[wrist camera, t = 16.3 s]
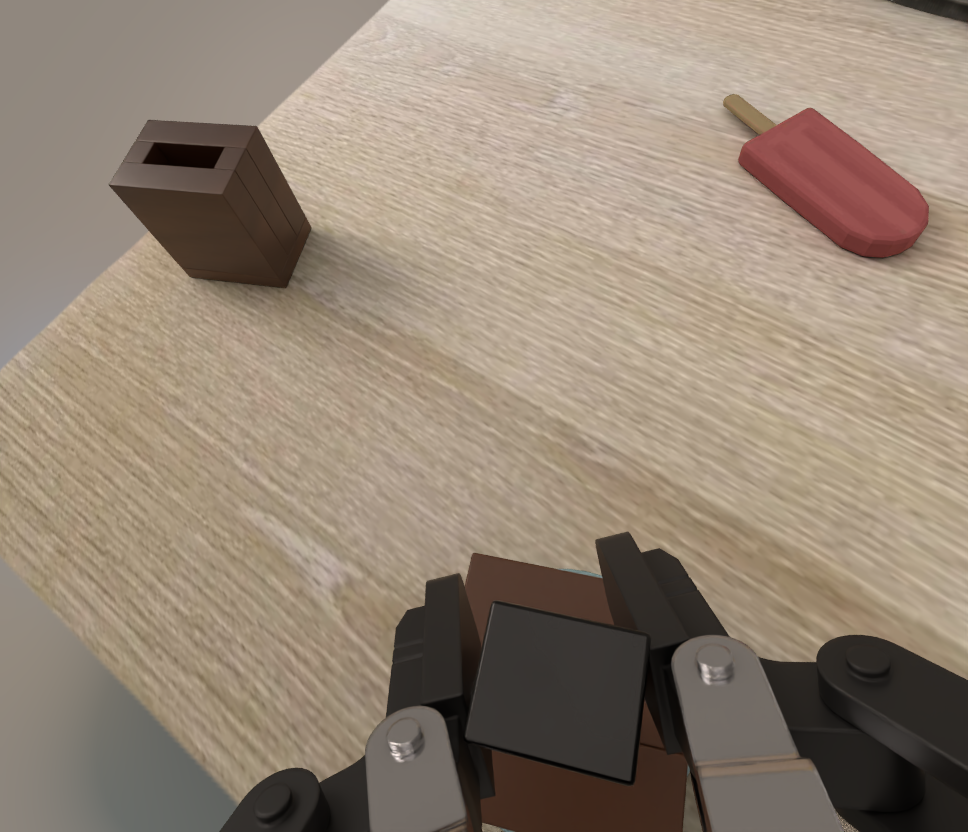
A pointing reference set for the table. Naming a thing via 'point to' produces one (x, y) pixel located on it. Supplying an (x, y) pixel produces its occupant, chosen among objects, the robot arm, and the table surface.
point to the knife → (939, 7)
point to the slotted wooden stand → (550, 790)
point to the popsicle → (832, 181)
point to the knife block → (214, 201)
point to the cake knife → (560, 691)
